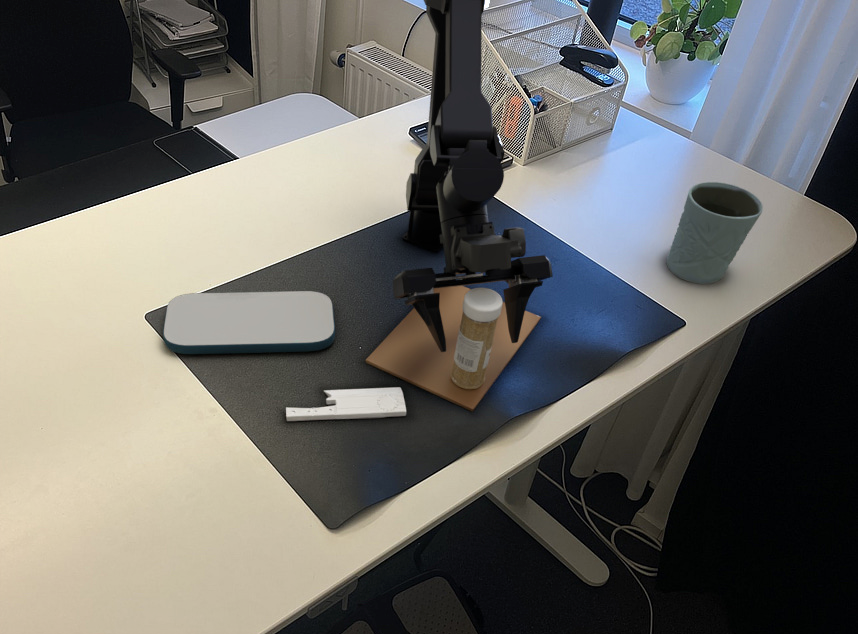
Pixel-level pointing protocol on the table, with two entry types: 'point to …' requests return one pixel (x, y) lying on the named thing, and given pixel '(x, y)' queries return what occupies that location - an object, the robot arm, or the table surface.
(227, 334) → the external hard drive
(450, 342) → the cork placemat
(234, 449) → the table surface
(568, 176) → the table surface
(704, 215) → the green ceramic cup
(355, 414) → the white plastic blade
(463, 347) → the sprinkles bottle
